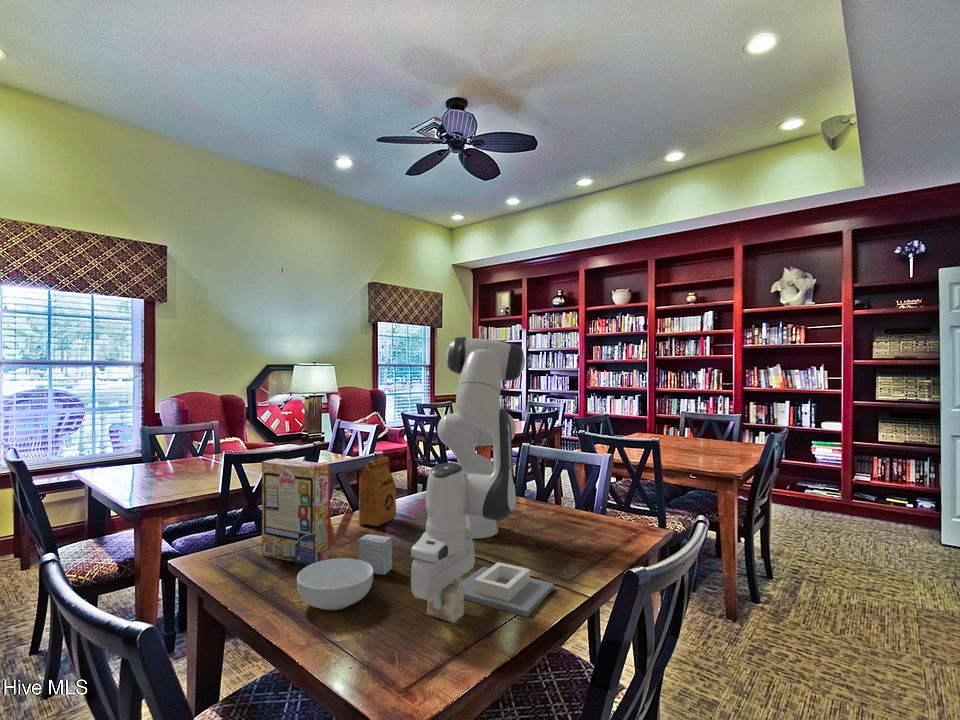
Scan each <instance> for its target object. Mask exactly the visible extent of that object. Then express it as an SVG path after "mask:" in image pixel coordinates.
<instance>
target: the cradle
mask: <svg viewBox="0 0 960 720" xmlns="http://www.w3.org/2000/svg"><path fill="white" fill-rule="evenodd" d="M459 586H461V587H464V601H469V602H472V603H475V604H479V605H483V606H487V607H490V608H494V609H496V610H497V609H498V610H501V611H504V612H508V613H511V614H514V615H519V616H522V617H525V618H527V617H528V616H530V615H531V614H532V612H533V611H534V610H535V609H536V608H538V606H539V605H540V604H541V603H542V601H543V600H544V599H545V598H546V597H548V595H549V594H551V592H552V591H553V590H554V588H555V583H554V582H550V581H546V580H545V581H544V580H541V579H537V578H533V577H531V569H530V568H525V567H521V566H518V565H517V566H516V565H513V564H509V563H504V562H499V561H498V562H496V563H495V564H493V565H492V566H491V567H486V566H482V567H480V568H479V569H478V570H476V571H475V572H473V573H472V574H470V576H467V577H466V578H465V579H464V580H463V581H460V583H459Z"/></svg>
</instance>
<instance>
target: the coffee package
mask: <svg viewBox="0 0 960 720" xmlns="http://www.w3.org/2000/svg"><path fill="white" fill-rule="evenodd" d="M389 458H390V457H388V456H384V457H380V458H377V459H373V460H370V461H367V464H366V465H365V468H364V469H363V470H364V471H363V472H362V474H361V476H360V480H359V486H358V487H359V488H358V490H359V491H358V513H359V514H358V524H359V525H360V526H372V527H379V526H380V525H383V524H386V523H388V522H390V521H392V520H394V519H395V518H396V517H397V487H396V482H395V479H394V477H393V474H392V472H391V471H390V468H389V464H388V462H390V459H389Z"/></svg>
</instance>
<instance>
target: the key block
mask: <svg viewBox="0 0 960 720" xmlns="http://www.w3.org/2000/svg"><path fill="white" fill-rule="evenodd" d="M440 596H441V598H442V599H444V603H443V604H444V606H443V607H442V608H441V609H439V610H438V609H435V608H434V607H433V599H432V597H430V598H429V599H427V600H426V614H427V615H428V616H431V617H433V618H434V617H435V618H437V619H441V620H445V621H448V622H451V623H453V624H454V623H455V622H456V621H457V620H459V619H460V618H461V617H462V616H464V615H465V613H464V612H465V607H464V606H465V604H464V603H465V600H464V587H461V586H457V585H454V584H449V585H447V586H446V587H445V588H443V589H442V592H441V594H440Z"/></svg>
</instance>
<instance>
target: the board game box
mask: <svg viewBox="0 0 960 720" xmlns="http://www.w3.org/2000/svg"><path fill="white" fill-rule="evenodd" d="M261 556H263V557H264V556H265V557H270V558H274V559H278V560H282V561H288V562H292V563H295V564H296V563H297V564H301V565H306V566H309V565H311V564H313V563H316V562H319V561H323V560H328V559H331V463H324V462H323V463H322V462H312V461H304V460H296V459H295V460H293V459H286V458H285V459H283V458H273V459H267V460H263V461H261Z"/></svg>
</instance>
